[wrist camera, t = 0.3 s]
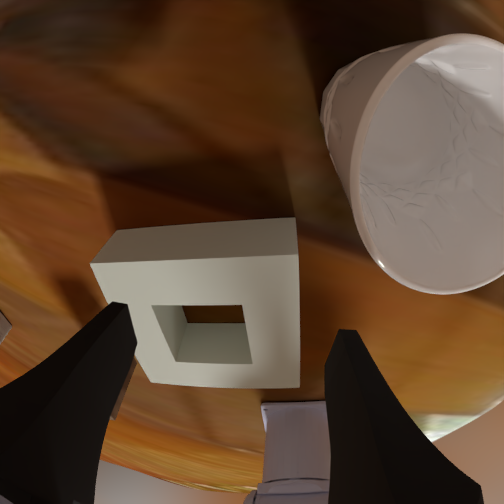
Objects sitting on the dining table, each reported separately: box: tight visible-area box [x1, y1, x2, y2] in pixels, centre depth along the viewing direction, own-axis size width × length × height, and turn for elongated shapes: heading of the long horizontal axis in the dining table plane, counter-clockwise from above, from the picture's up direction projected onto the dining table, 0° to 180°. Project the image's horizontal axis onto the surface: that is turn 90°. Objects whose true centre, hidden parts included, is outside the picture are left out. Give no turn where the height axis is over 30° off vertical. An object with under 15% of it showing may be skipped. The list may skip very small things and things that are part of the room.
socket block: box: [90, 217, 300, 388], centre depth 21 cm, size 12×12×4 cm
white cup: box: [320, 34, 504, 294], centre depth 11 cm, size 8×8×10 cm
